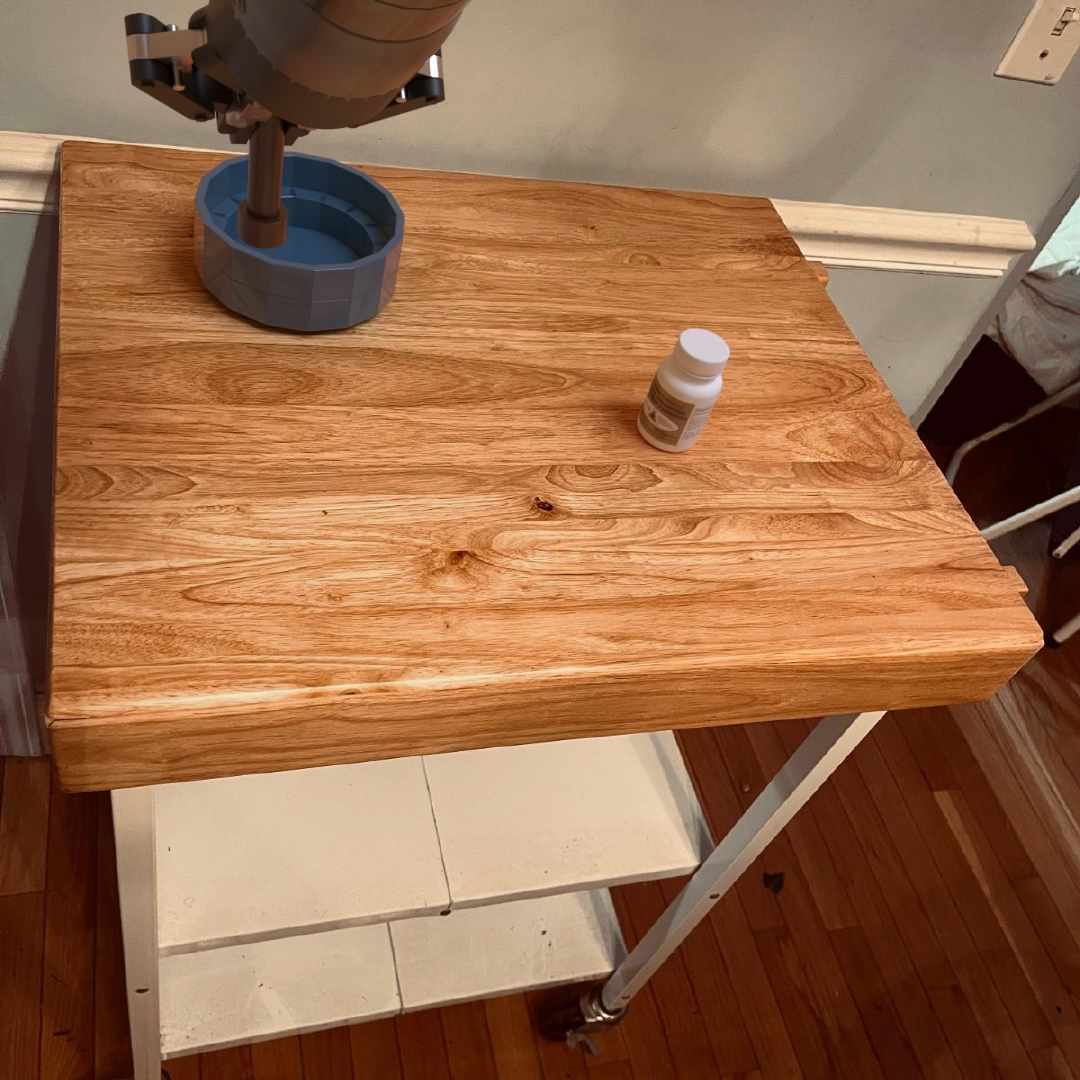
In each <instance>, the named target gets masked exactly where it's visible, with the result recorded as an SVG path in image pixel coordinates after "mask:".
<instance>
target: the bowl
mask: <svg viewBox="0 0 1080 1080" xmlns="http://www.w3.org/2000/svg"><path fill="white" fill-rule="evenodd" d="M248 164H249V153H246V154H242V155H239V156H234V157H232V158H227V159H224V160H222V161H221V162H219V163H218V164H217V165H216V166H214V167H213V168H212V169H210V170H209V171H207V172H206V173H205V174H203V175H202V176H201V177H200V180H199V182H198V186H197V189H196V192H195V196H194V198H193V209H194V210H193V264H194V265H195V268H196V270H197V274H198V276H199V278H200V281H201V283H202V286H203V287H204V288H205V289H206V290H207V291H209V293H210V294H212V295H213V296H214V297H215V298H216V299H217V300H219V301H220V302H221V303H222V304H223V305H224V306H225V307H227V308H228V309H229V310H230V311H233V312H235V313H237V314H239V315H242V316H244V317H246V318H249V319H251V320H254V321H256V322H258V323H261V324H263V325H265V326H270V327H277V328H282V329H289V330H295V331H296V330H297V331H302V332H315V331H318V332H319V331H327V330H340V329H346V328H350V327H353V326H355V325H357V324H360V323H362V322H364V321H366V320H369V319H371V318H374V317H377V316H378V314H379V313H380V312H381V311H382V310H383V309H384V307H385V306H386V305H387V304H388V303H389V302H390V300H391V299H392V298H393V297H394V296H395V291H396V290H395V289H396V284H397V278H398V272H399V266H400V261H401V253H402V248H403V241H404V235H405V222H406V221H405V220H406V215H405V213H404V212H403V210H402V208H401V207H400V204H399V203H398V201H397V200H396V198H395V195H394V194H393V193H392V192H391V191H390V190H388V189H387V188H386V187H384V185H382V184H380V182H378V181H377V180H375V179H374V178H373V177H371V176H370V175H369V174H367V173H366V172H364V171H362V170H360V169H357V168H354V167H353V166H350V165H347V164H345V163H343V162H341V161H338V160H336V159H334V158H330V157H324V156H319V155H314V154H309V153H304V152H298V151H293V150H292V151H291V150H290V151H285V150H284V157H283V172H282V187H281V202H280V203H282V204H283V205H284V206H285V207H286V209H287V211H288V220H287V234H286V241H285V242H284V243H283V244H282V245H281V246H279V247H277V248H273V249H259V248H255V247H252V246H249V245H247V244H246V243H244V242H243V241H242V240H241V239H240V238H239V236H238V232H237V230H238V206H239V204H240V202H241V201H243V200H244V199H246V198H247V188H248Z"/></svg>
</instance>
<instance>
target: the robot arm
mask: <svg viewBox="0 0 1080 1080" xmlns="http://www.w3.org/2000/svg"><path fill="white" fill-rule="evenodd" d="M471 2H473V0H208V4H206V5H205V6H203V7H200V8H198V9H197V10H195V11H194V12H193V13H192V14H191V16H190V17H189V20H188V23H187V29H180V27H179V25H177V24H174V23H169V24H164V22H162V21H161V20H159V19H158V18H157V17H155V16H153V15H151V14H148V13H144V12H136V13H130V14H127V15H125V16H124V18H123V19H124V30H125V43H126V51H127V52H126V53H127V61H128V65H129V66H128V67H129V75H130V84H131V85H132V86H133V87H135V88H136V89H138V90H140V91H141V92H143V93H144V94H146V95H148V96H149V97H151V98H153V99H155V100H156V101H158V102H159V103H161V104H163V105H164V106H166V107H168V108H170V109H171V110H172V111H174V112H176V113H178V114H180V115H181V116H183V117H185V118H187V119H188V120H191V121H195V122H196V123H206V122H208V121H211V120H214V119H215V120H216V129H217V130H216V131H217V132H218V133H219V134H220V135H228V137H229V142H230V144H231V145H247V144H248V143H249V139H250V135H251V134H253V132H254V130H255V128H256V127H257V121H264V122H266V121H267V120H268V119H269V117H270V116H271V115H272V114H274V115H276V116H278V117H280V118H282V119H284V120H286V127H285V142H284V147H292V146H293V145H294V144H295V143H296V142H297V140H298V138H304V137H305V136H308V135H309V134H310V133H311V132H314V131H316V130H341V129H346V128H347V129H358V128H359V127H363V126H366V125H370V124H372V123H377V122H380V121H384V120H387V119H390V118H392V117H393V118H394V117H396V116H400V115H403V114H407V113H409V112H414V111H417V110H419V109H423V108H427V107H429V106H435V105H437V104H439V103H440V104H441V103H442V102H444V101H445V100H446V93H445V80H444V67H443V54H442V46H443V45H444V43H445V42H446V41H447V39H448V38H449V37H450V35H451V34H452V33H453V31H454V29H455V27H456V25H457V24H458V23H459V20H460V18H461V17H462V14H463V12H464V11H465V9H466V8H467V7H468V5H469V4H471Z"/></svg>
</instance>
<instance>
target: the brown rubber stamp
mask: <svg viewBox="0 0 1080 1080" xmlns="http://www.w3.org/2000/svg"><path fill="white" fill-rule="evenodd" d="M285 127H286V120H284V119H282V118H280V117H278V116H276V115H274V114H272V115H271V116H270V117H269V119H268V120H267V121H266V122H264V121H257V127H256V128H255V130H254V132H253V134H251V135H250V139H249V140H248V154H249V164H248V188H247V198H246V199H244V200H243V201H241V202H240V204H239V206H238V230H237V232H238V236H239V238H240V239H241V240H242V241H243V242H244V243H246V244H247V245H249V246H252V247H255V248H259V249H273V248H277V247H279V246H281V245H282V244H283V243H284V242H285V241H286V234H287V220H288V211H287V209H286V207H285V206H284V205H283V204H282V203H280V202H281V187H282V172H283V157H284V151H285V146H284V142H285Z"/></svg>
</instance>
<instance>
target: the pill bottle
mask: <svg viewBox="0 0 1080 1080" xmlns="http://www.w3.org/2000/svg"><path fill="white" fill-rule="evenodd" d="M730 354H731V351H730V347H729V345H728V343H727V342H726V341H725V340H724V339H723V338H722V337H721V336H720V335H718V334H716V333H715V332H713V331H710V330H707V329H704V328H699V327H697V328H694V327H693V328H687V329H685V330H683V331H682V332H681V333H680V335H679V336H678V338H677V340H676V343H675V345H674V347H673V351H672V353H671V354H668V355H667V356H665V357H664V358H663V359H662V360H661V361H660V364H659V365H658V367H657V369H656V372H655V374H654V377H653V379H652V382H651V385H650V386H649V389H648V391H647V394H646V397H645V399H644V400H643V403H642V407H641V409H640V411H639V413H638V415H637V420H636V425H637V429H638V431H639V433H640V434H641V436H642V437H643V438H644V440H646V442H648V444H651V445H652V446H653V447H655V448H657V449H659V450H662V451H665V452H668V453H682V452H686V451H688V450H690V449H692V448H693V447H694V446H695V445H696V443H697V441H698V440H699V438H700V435H701V434H702V431H703V430H704V428H705V425H706V423H707V421H708V419H709V417H710V416H711V413H712V411H713V409H714V407H715V405H716V403H717V400H718V399H719V396H720V394H721V391H722V389H723V377H722V373H723V371H724V370H725V367H726V365H727V363H728V361H729V358H730Z"/></svg>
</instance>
